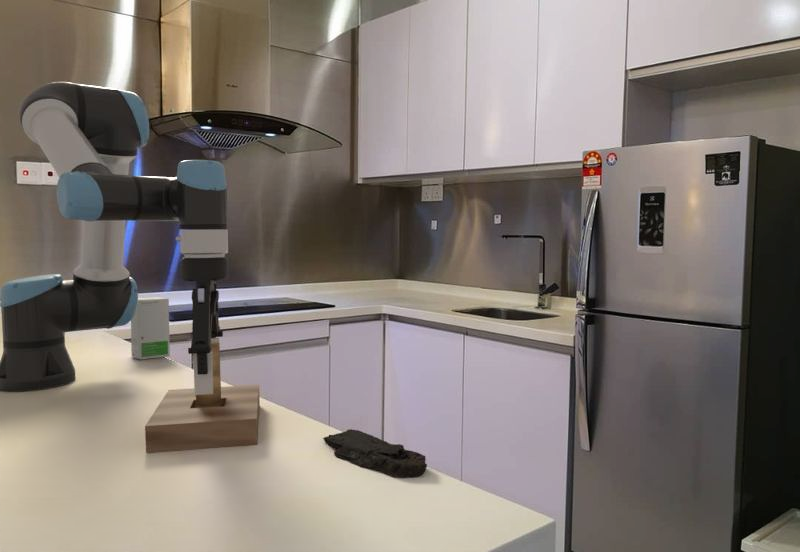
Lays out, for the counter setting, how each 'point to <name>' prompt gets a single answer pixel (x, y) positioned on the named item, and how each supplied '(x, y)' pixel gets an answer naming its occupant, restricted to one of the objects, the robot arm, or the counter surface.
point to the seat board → (204, 421)
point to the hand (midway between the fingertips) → (208, 384)
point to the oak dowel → (214, 398)
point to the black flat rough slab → (376, 454)
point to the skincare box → (150, 329)
